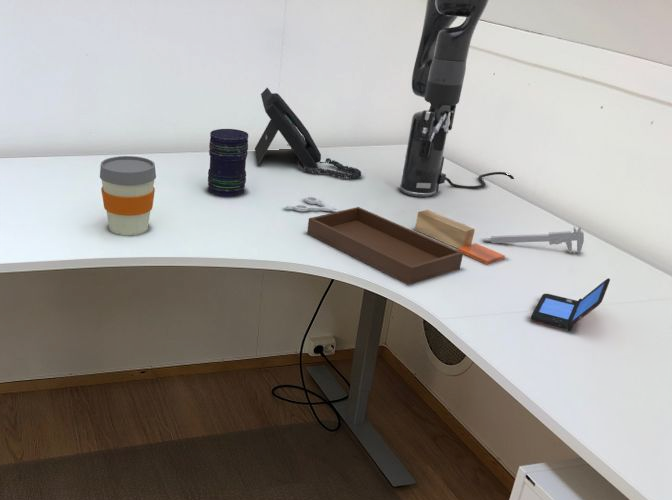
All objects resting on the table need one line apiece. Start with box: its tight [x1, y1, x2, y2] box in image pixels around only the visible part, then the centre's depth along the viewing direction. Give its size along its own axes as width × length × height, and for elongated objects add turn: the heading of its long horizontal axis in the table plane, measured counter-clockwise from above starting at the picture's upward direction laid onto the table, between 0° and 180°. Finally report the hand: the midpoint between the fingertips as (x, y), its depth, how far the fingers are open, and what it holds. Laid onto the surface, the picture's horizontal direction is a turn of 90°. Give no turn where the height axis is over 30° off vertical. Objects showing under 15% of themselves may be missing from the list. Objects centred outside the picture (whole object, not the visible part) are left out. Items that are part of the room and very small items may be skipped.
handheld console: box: [530, 277, 611, 332], centre depth 149 cm, size 12×11×7 cm
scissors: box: [285, 196, 344, 213], centre depth 196 cm, size 11×1×20 cm
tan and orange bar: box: [414, 209, 506, 265], centre depth 179 cm, size 6×22×4 cm, turn 34°
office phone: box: [254, 87, 362, 180], centre depth 225 cm, size 29×28×20 cm
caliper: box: [484, 226, 585, 254], centre depth 179 cm, size 20×1×6 cm, turn 73°
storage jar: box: [207, 128, 249, 198], centre depth 203 cm, size 10×10×15 cm
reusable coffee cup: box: [99, 155, 157, 236], centre depth 179 cm, size 13×13×15 cm
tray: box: [306, 206, 464, 286], centre depth 175 cm, size 16×32×4 cm, turn 34°
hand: (430, 153), depth 182 cm, fingers open, 8 cm apart
